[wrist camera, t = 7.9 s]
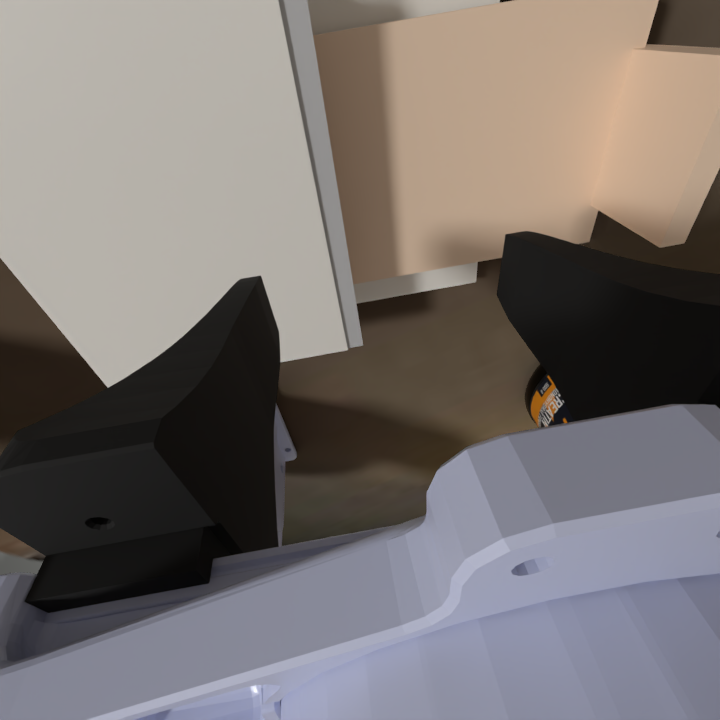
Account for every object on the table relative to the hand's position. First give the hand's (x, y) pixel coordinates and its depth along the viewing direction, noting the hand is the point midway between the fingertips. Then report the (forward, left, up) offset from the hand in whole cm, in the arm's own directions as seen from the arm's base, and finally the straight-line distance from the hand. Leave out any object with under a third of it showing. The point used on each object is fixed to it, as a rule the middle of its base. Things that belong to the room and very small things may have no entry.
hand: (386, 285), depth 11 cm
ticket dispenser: (+1, +4, -10) cm, 11 cm away
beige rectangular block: (+1, -4, -8) cm, 9 cm away
